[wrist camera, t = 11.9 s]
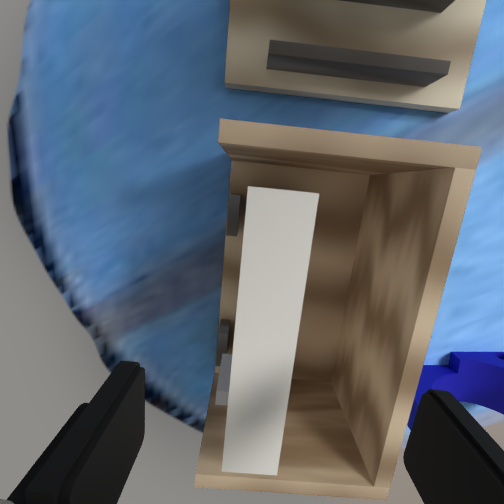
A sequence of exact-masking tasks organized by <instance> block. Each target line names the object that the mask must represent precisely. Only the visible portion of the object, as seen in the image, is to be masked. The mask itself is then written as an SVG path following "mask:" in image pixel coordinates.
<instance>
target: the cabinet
mask: <svg viewBox="0 0 504 504" xmlns="http://www.w3.org/2000/svg"><path fill="white" fill-rule="evenodd" d="M218 143H219V144H220V145H221V147H222V148H223V150H224V151H225V152H226V154H227V155H228V156H229V158H230V159H231V160H232V161H231V173H230V186H229V198H228V211H227V224H226V236H225V249H224V261H223V274H222V287H221V299H220V312H219V324H218V337H217V350H216V362H215V374H214V379H213V384H212V390H211V395H210V400H209V405H208V411H207V416H206V421H205V427H204V432H203V437H202V443H201V448H200V453H199V459H198V464H197V469H196V476H195V487H202V488H217V489H231V490H246V491H260V492H275V493H288V494H303V495H317V496H332V497H345V498H361V499H375V500H387V497H388V493H389V489H390V486H391V482H392V478H393V475H394V471H395V467H396V464H397V460H398V456H399V453H400V449H401V445H402V442H403V438H404V434H405V430H406V427H407V423H408V419H409V416H410V412H411V408H412V405H413V401H414V397H415V394H416V390H417V386H418V383H419V379H420V375H421V372H422V368H423V364H424V360H425V357H426V353H427V349H428V346H429V342H430V338H431V335H432V331H433V327H434V324H435V320H436V316H437V313H438V309H439V305H440V302H441V298H442V294H443V290H444V287H445V283H446V279H447V276H448V272H449V268H450V265H451V261H452V257H453V254H454V250H455V246H456V243H457V239H458V235H459V231H460V228H461V224H462V220H463V217H464V213H465V209H466V206H467V202H468V198H469V195H470V191H471V187H472V184H473V180H474V176H475V173H476V169H477V165H478V161H479V158H480V154H481V150H482V147H477V146H467V145H458V144H449V143H440V142H431V141H422V140H413V139H403V138H394V137H385V136H376V135H367V134H358V133H349V132H339V131H330V130H321V129H312V128H303V127H294V126H285V125H275V124H266V123H257V122H248V121H239V120H230V119H221V118H220V123H219V137H218ZM248 186H255V187H264V188H274V189H284V190H293V191H302V192H310V193H319V199H318V206H317V212H316V219H315V226H314V232H313V239H312V246H311V252H310V259H309V266H308V272H307V279H306V286H305V292H304V299H303V305H302V312H301V319H300V325H299V332H298V339H297V345H296V352H295V359H294V365H293V372H292V379H291V385H290V392H289V399H288V405H287V412H286V419H285V425H284V432H283V439H282V445H281V452H280V459H279V465H278V472H277V475H263V474H249V473H234V472H222V461H223V451H224V440H225V429H226V418H227V408H228V406H227V405H215V402H216V390H217V384H218V378H219V372H220V366H221V359H222V353H223V354H233V343H234V332H235V321H236V311H237V300H238V289H239V278H240V268H241V257H242V246H243V235H244V224H245V214H246V203H247V192H248Z"/></svg>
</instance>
